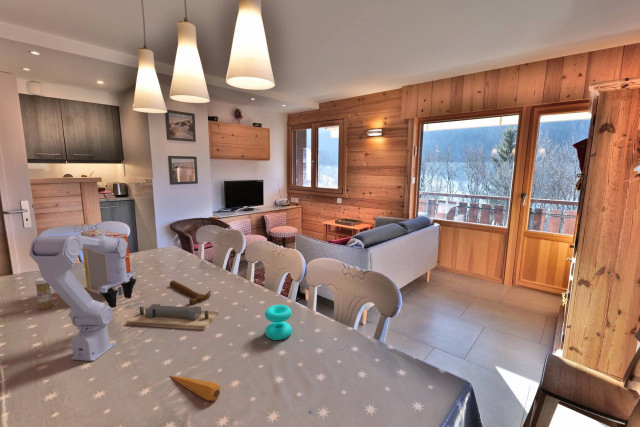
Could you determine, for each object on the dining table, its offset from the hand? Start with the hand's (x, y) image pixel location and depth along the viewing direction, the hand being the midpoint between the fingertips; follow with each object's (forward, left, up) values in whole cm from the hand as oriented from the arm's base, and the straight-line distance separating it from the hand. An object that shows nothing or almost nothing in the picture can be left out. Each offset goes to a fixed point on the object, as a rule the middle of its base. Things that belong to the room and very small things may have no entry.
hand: (120, 302), depth 113 cm
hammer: (+34, -8, -11) cm, 37 cm away
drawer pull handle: (+8, -16, -9) cm, 20 cm away
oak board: (+8, -16, -10) cm, 21 cm away
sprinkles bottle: (+11, +46, -11) cm, 49 cm away
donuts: (+2, -61, -11) cm, 62 cm away
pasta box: (+30, +32, -11) cm, 45 cm away
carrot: (-27, -43, -11) cm, 52 cm away
